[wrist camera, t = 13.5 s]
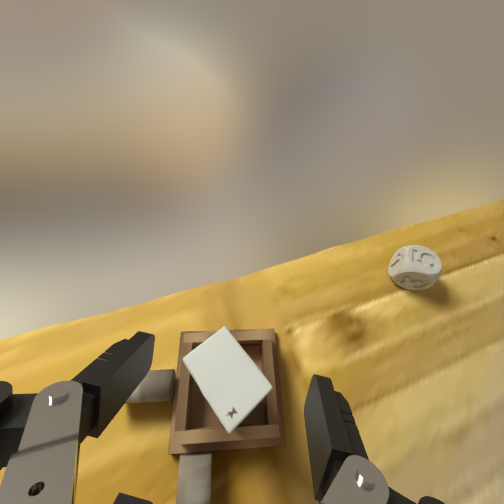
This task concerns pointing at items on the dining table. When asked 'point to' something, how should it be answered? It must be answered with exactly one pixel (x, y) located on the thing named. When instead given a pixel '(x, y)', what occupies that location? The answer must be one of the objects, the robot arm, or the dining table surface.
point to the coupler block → (204, 418)
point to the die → (415, 267)
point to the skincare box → (227, 378)
